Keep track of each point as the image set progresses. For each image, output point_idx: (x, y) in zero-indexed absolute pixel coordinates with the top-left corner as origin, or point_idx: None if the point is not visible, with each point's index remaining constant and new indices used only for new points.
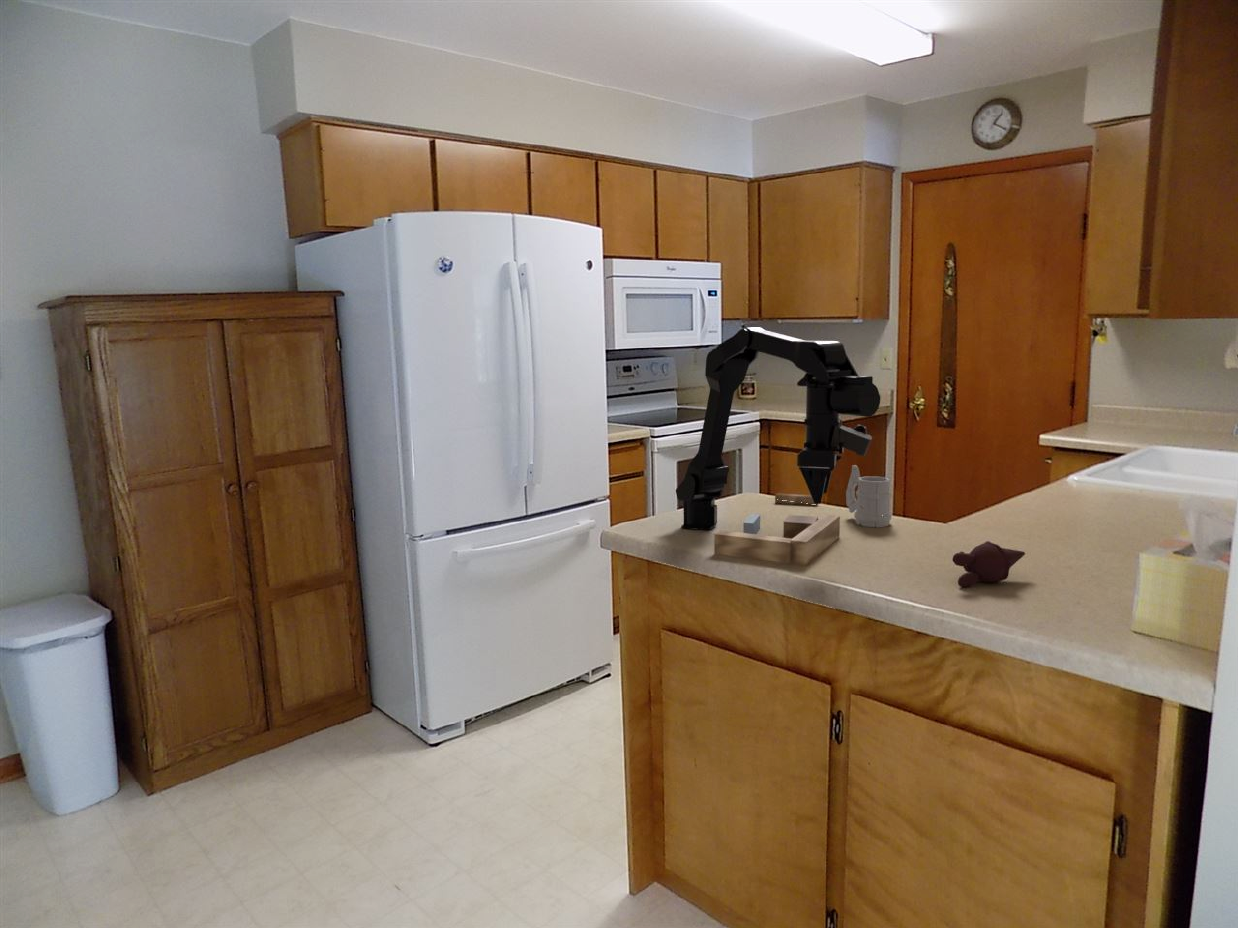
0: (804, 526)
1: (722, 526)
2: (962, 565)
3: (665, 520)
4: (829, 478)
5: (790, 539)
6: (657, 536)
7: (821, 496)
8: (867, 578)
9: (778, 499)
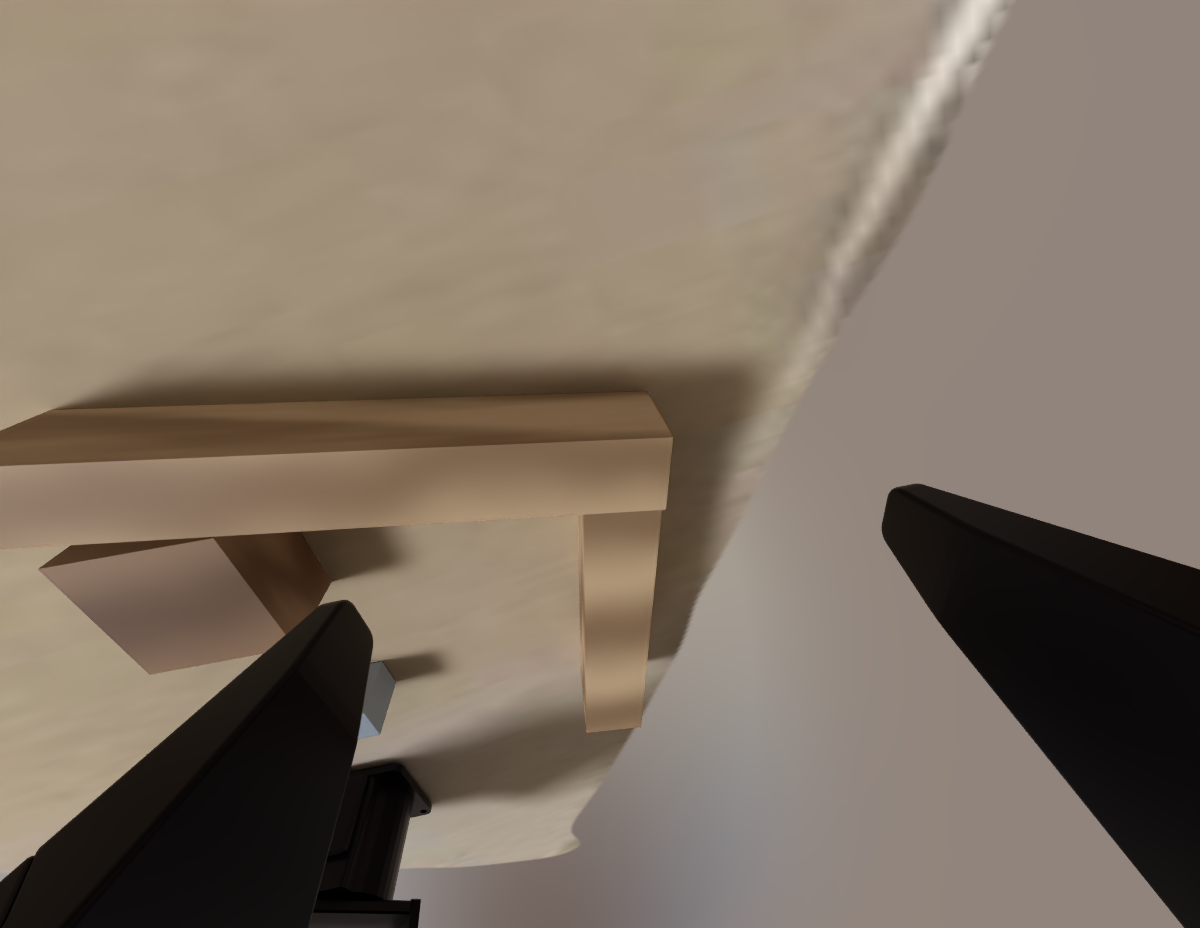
0: (252, 562)
1: None
2: None
3: None
4: (197, 780)
5: (603, 519)
6: (538, 801)
7: (1019, 521)
8: (760, 19)
9: None
